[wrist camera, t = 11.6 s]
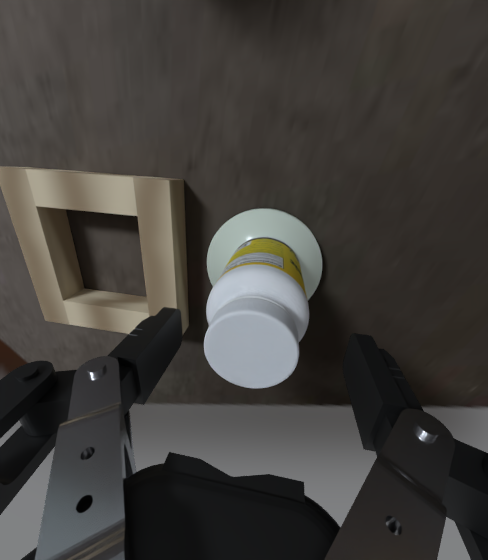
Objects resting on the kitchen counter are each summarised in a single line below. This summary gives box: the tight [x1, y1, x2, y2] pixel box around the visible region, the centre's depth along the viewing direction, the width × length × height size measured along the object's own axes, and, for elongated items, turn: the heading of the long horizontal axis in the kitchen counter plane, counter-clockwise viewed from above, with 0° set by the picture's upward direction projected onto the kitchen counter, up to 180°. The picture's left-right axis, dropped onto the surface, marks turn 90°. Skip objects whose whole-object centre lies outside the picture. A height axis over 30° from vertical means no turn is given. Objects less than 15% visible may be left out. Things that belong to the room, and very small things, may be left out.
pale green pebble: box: [207, 208, 322, 300], centre depth 19 cm, size 9×9×1 cm
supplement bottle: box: [204, 237, 309, 388], centre depth 14 cm, size 5×5×10 cm
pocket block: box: [0, 167, 189, 334], centre depth 20 cm, size 13×13×2 cm
